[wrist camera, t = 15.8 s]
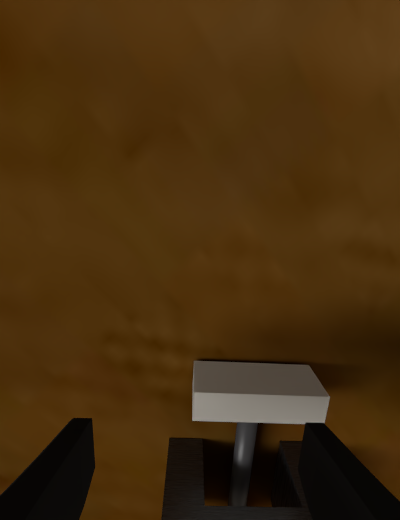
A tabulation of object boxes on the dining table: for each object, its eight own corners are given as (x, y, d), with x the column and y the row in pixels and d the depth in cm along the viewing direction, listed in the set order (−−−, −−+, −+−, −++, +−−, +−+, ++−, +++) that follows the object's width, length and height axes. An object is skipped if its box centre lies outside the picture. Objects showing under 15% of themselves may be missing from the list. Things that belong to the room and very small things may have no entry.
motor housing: (312, 441, 21) (361, 546, 15) (300, 499, 22) (340, 616, 16) (169, 437, 20) (158, 543, 14) (167, 497, 22) (156, 615, 16)
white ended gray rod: (308, 365, 19) (329, 396, 16) (267, 594, 25) (276, 648, 22) (194, 360, 18) (194, 392, 16) (180, 593, 24) (178, 648, 21)
